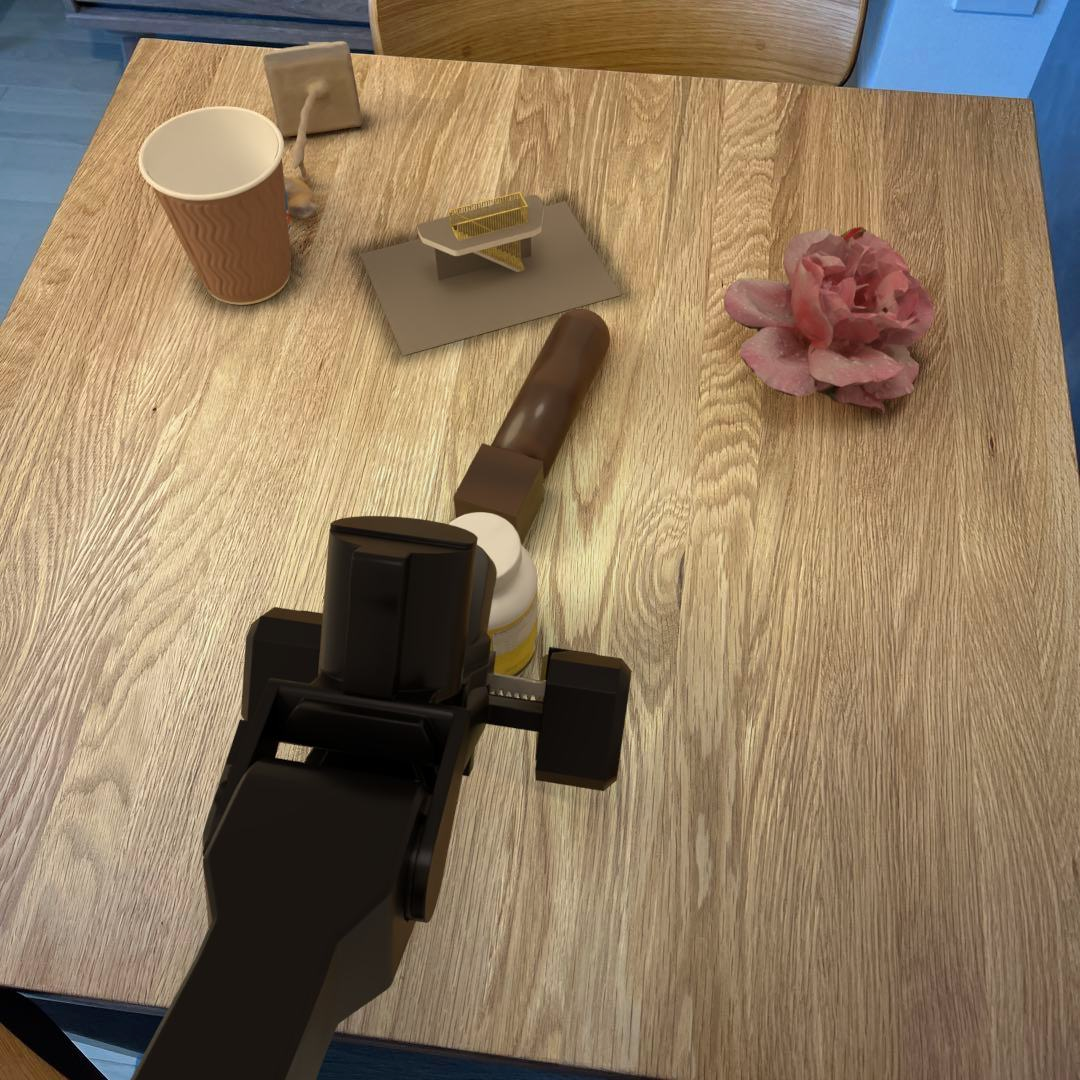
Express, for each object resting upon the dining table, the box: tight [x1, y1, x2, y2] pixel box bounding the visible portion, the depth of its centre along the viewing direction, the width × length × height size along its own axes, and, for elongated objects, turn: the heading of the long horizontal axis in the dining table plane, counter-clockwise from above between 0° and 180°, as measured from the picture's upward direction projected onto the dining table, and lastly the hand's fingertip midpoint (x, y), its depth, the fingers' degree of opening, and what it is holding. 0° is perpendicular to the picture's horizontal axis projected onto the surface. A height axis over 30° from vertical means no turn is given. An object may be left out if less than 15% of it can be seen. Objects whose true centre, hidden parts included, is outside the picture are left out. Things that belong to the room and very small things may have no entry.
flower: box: [723, 226, 937, 415], centre depth 82 cm, size 15×15×10 cm
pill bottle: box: [448, 512, 539, 677], centre depth 68 cm, size 6×6×12 cm
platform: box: [359, 191, 622, 356], centre depth 89 cm, size 12×18×7 cm, turn 111°
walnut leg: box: [453, 308, 611, 546], centre depth 80 cm, size 20×4×4 cm, turn 159°
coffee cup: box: [138, 105, 292, 306], centre depth 86 cm, size 10×10×12 cm
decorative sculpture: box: [263, 40, 363, 220], centre depth 96 cm, size 16×10×7 cm, turn 170°
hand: (466, 650), depth 64 cm, fingers open, 9 cm apart
